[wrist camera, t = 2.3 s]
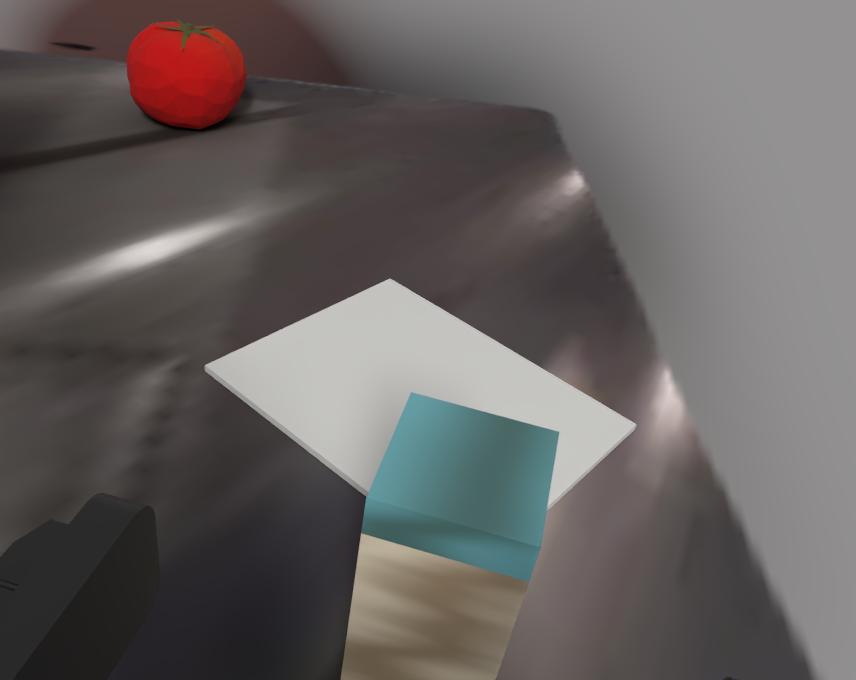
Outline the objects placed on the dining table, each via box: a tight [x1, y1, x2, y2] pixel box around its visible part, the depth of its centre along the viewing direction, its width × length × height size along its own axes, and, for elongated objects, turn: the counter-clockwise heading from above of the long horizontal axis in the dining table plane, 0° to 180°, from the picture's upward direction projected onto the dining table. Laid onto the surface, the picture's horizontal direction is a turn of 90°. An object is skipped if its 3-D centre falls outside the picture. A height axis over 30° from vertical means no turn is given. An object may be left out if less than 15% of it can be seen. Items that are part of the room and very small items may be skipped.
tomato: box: [127, 19, 247, 129], centre depth 70 cm, size 9×10×8 cm
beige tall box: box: [341, 392, 559, 680], centre depth 28 cm, size 5×5×12 cm
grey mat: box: [205, 279, 636, 511], centre depth 45 cm, size 19×15×1 cm
